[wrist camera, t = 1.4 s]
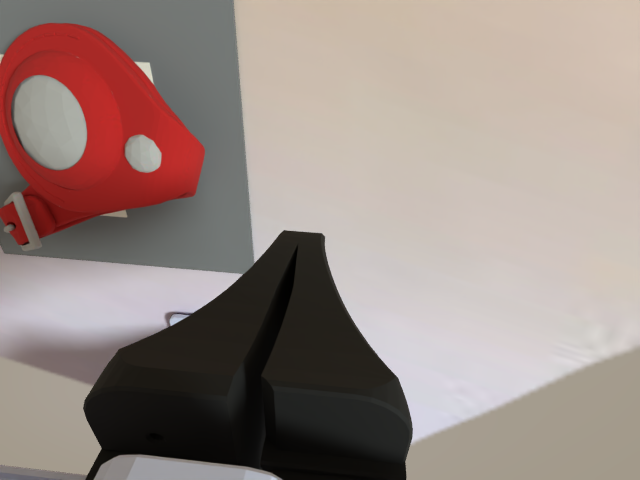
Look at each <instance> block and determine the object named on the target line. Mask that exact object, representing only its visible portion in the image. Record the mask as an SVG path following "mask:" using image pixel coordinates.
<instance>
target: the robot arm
mask: <svg viewBox="0 0 640 480" xmlns="http://www.w3.org/2000/svg"><path fill="white" fill-rule="evenodd" d="M169 322H170V327H168V328H166V329H164V330H162V331H160V332H158V333H156V334H154V335H151V336H149V337H147V338H145V339H142V340H140V341H138V342H135V343H133V344H131V345H128V346H126V347H124V348H121V349H119V350H118V352H117V353H116V354H115V356H114V357H113V358H112V359H111V361H110V362H109V363H108V365H107V366H106V368H105V369H104V371H103V372H102V374H101V375H100V377H99V379H98V380H97V382H96V383H95V385H94V386H93V388H92V390H91V391H90V393H89V394H88V396H87V397H86V399H85V402H84V407H83V409H84V412H85V416H86V419H87V421H88V423H89V425H90V427H91V429H92V431H93V432H94V434H95V436H96V438H97V440H98V442H99V444H100V446H101V448H102V449H101V451H100V453H99V455H98V457H97V459H96V460H95V462H94V464H93V466H92V468H91V470H90V472H89V473H88V475H80V474H72V473H64V472H55V471H47V470H39V469H30V468H21V467H13V466H5V465H0V480H406V465H405V460H406V457H407V454H408V450H409V447H410V443H411V440H412V433H413V428H412V421H411V416H410V412H409V408H408V405H407V401H406V398H405V395H404V392H403V390H402V387H401V385H400V382H399V379H398V377H397V376H396V375H395V374H394V373H393V372H392V371H391V370H390V369H389V368H388V367H387V366H386V365H385V363H384V362H383V361H382V360H381V359H380V358H379V357H378V355H377V354H376V353H375V351H374V350H373V349H372V348H371V346H370V345H369V344H368V342H367V341H366V339H365V338H364V337H363V335H362V334H361V332H360V331H359V329H358V328H357V326H356V325H355V323H354V322H353V320H352V318H351V316H350V315H349V313H348V311H347V309H346V307H345V305H344V304H343V301H342V299H341V297H340V295H339V293H338V290H337V288H336V286H335V283H334V280H333V278H332V275H331V271H330V268H329V265H328V261H327V257H326V252H325V236H324V235H323V234H322V233H310V232H297V231H285V230H284V231H283V232H282V233H280V235H279V236H278V237H277V239H276V240H275V241H274V242H273V243H272V245H271V246H270V247H269V248H268V249H267V251H266V252H265V253H264V254H263V255H262V256H261V257H260V258H259V259H258V260H257V261H256V262H255V264H254V265H253V266H252V267H251V268H250V269H249V270H248V271H247V272H245V273H244V274H243V275H242V276H241V277H240V278H239V279H238V280H237V281H236V282H235V283H234V284H232V285H231V286H230V287H229V288H228V289H227V290H225V291H224V292H223V293H222V294H220V295H219V296H218V297H216V298H215V299H214V300H212V301H211V302H209V303H208V304H207V305H205V306H203V307H202V308H200V309H199V310H197V311H196V312H194V313H193V314H191V315H182V314H174V315H172V316H171V318H170V320H169Z"/></svg>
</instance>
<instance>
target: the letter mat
mask: <svg viewBox="0 0 640 480" xmlns="http://www.w3.org/2000/svg"><path fill="white" fill-rule="evenodd" d="M47 23H71V24H78V25H82V26H86V27H90V28H93V29H95V30H97V31H99V32H100V33H102V34H103V35H105V36H106V37H108V38H109V39H110V40H112V41H113V42H114V43H115V44H116V45H117V46H118V47H120V48H121V49H122V50H123V51H124V52H125V53H126V54H127V55H128V56H129V57H130V58H131V59H132V60H133V61H134V62H135V63H136V64H137V65H138V66H139V68H140V69H141V70H142V71H143V72H144V73H145V74H146V75H147V77H148V78H149V79H150V81H151V82H152V83H153V84H154V86H155V87H156V89H157V91H158V92H159V94H160V95H161V97H162V98H163V99H164V101H165V102H166V103H167V105H168V106H169V107H170V108H171V110H172V111H173V112H174V113H175V114H176V115H177V116H178V118H179V119H180V120H181V121H182V122H183V124H184V125H185V126H186V128H187V129H188V130H189V132H190V133H192V134H193V135H194V136H195V137H196V138H197V139H198V141H199V142H200V143H201V144H202V145H203V146H204V148H205V156H204V161H203V165H202V169H201V173H200V178H199V182H198V186H197V190H196V194H195V195H194V196H193V197H188V198H181V199H174V200H169V201H166V202H163V203H161V204H157V205H152V206H147V207H140V208H133V209H127V210H122V211H117V212H113V213H108V214H103V215H99V216H96V217H93V218H91V219H89V220H86V221H84V222H81V223H79V224H76V225H74V226H71V227H69V228H66V229H64V230H62V231H59V232H56V233H54V234H51V235H48V236H46V237H43V238H40V241H41V244H42V247H41V248H39V249H34V250H29V251H23V250H22V247H21V245H18V244H17V242H16V240H15V239H14V237H13V236H12V235H11V234H10V233H7V232H4V227H6V226H5V224H4V222H3V220H2V219H1V217H0V245H1V247H2V249H3V251H4V253H6V254H18V255H30V256H41V257H53V258H65V259H76V260H88V261H99V262H111V263H123V264H134V265H146V266H158V267H169V268H181V269H192V270H204V271H216V272H227V273H239V274H244V273H245V272H247V271H248V270H249V269H250V268H251V267H252V266H253V265H254V256H253V243H252V231H251V218H250V205H249V193H248V180H247V167H246V155H245V142H244V129H243V117H242V104H241V91H240V79H239V66H238V54H237V41H236V28H235V16H234V3H233V0H0V63H1V60H2V58H3V56H4V54H5V53H6V51H7V49H8V48H9V46H10V45H11V44H12V42H13V41H14V40H15V39H16V38H17V37H18V36H20V35H21V34H22V33H24V32H25V31H27V30H28V29H30V28H32V27H35V26H38V25H41V24H47ZM29 185H30V184H29V183H28V182H27V181H26V180H25V179H24V178H23V176H22V175H21V174H20V172H19V171H18V169H17V168H16V166H15V165H14V163H13V162H12V160H11V158H10V156H9V154H8V152H7V150H6V147H5V145H4V143H3V140H2V137H1V135H0V208H2V207H4V206H5V205H4V202H5V201H6V200H7V199H8V197H9V196H10V195H11V194H12V193H14V192H23V191H24V190H25V189H26V188H27V187H28V186H29Z"/></svg>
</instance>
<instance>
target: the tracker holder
mask: <svg viewBox="0 0 640 480" xmlns="http://www.w3.org/2000/svg"><path fill="white" fill-rule="evenodd" d="M0 135H1V137H2V140H3V143H4V145H5V147H6V150H7V152H8V154H9V156H10V158H11V160H12V162H13V163H14V165H15V166H16V168H17V169H18V171H19V172H20V174H21V175H22V176H23V178H24V179H25V180H26V181H27V182H28V183H29V184H30V185H29V186H28V187H27V188H26V189H25V190H24V191H23V192H14V193H12V194H11V195H10V196H9V197H8V199H7V200H6V201H5V202H4V205H5V206H4V207H2V208H0V217H1V219H2V220H3V222H4V224H5V226H6V227H4V232H7V233H10V234H11V235H12V236H13V237H14V239H15V240H16V242H17V244H18V245H21V247H22V250H23V251H29V250H34V249H39V248H41V247H42V244H41V241H40V238H43V237H46V236H48V235H51V234H54V233H56V232H59V231H62V230H64V229H66V228H69V227H71V226H74V225H76V224H79V223H81V222H84V221H86V220H89V219H91V218H93V217H96V216H99V215H103V214H108V213H113V212H117V211H122V210H127V209H133V208H140V207H147V206H152V205H157V204H161V203H163V202H166V201H169V200H174V199H181V198H188V197H193V196H194V195H195V194H196V190H197V186H198V182H199V178H200V173H201V169H202V165H203V161H204V156H205V148H204V146H203V145H202V144H201V143H200V142H199V141H198V139H197V138H196V137H195V136H194V135H193V134H192V133H190V132H189V130H188V129H187V128H186V126H185V125H184V124H183V122H182V121H181V120H180V119H179V118H178V116H177V115H176V114H175V113H174V112H173V111H172V110H171V108H170V107H169V106H168V105H167V103H166V102H165V101H164V99H163V98H162V97H161V95H160V94H159V92H158V91H157V89H156V87H155V86H154V84H153V83H152V82H151V81H150V79H149V78H148V77H147V75H146V74H145V73H144V72H143V71H142V70H141V69H140V68H139V66H138V65H137V64H136V63H135V62H134V61H133V60H132V59H131V58H130V57H129V56H128V55H127V54H126V53H125V52H124V51H123V50H122V49H121V48H120V47H118V46H117V45H116V44H115V43H114V42H113V41H112V40H110V39H109V38H108V37H106V36H105V35H103V34H102V33H100V32H99V31H97V30H95V29H93V28H90V27H86V26H82V25H78V24H71V23H47V24H41V25H38V26H35V27H32V28H30V29H28V30H27V31H25V32H24V33H22V34H21V35H20V36H18V37H17V38H16V39H15V40H14V41H13V42H12V44H11V45H10V46H9V48H8V49H7V51H6V53H5V54H4V56H3V58H2V60H1V63H0Z"/></svg>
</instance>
